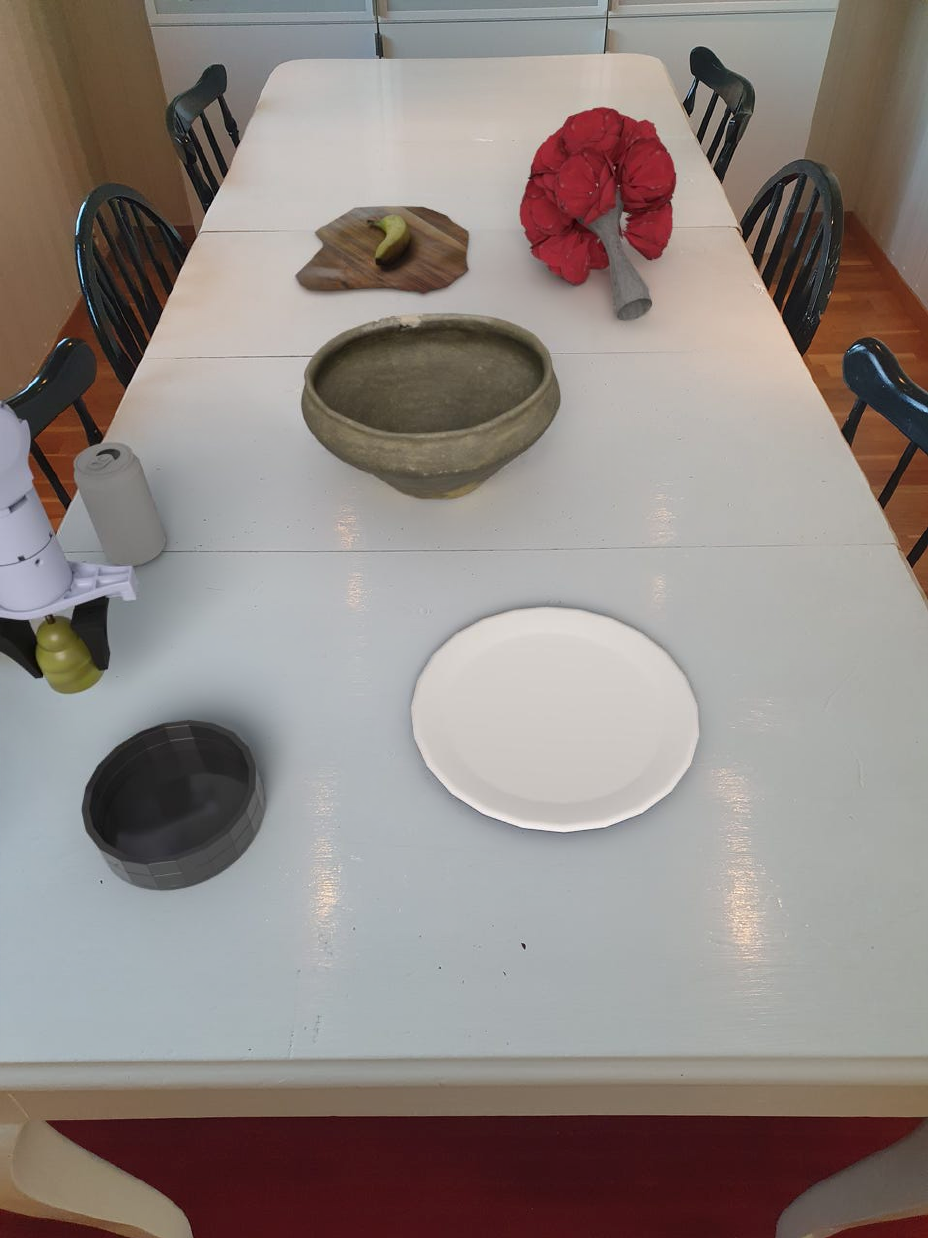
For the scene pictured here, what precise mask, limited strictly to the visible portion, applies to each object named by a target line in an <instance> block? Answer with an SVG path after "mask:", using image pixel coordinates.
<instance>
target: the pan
mask: <svg viewBox="0 0 928 1238" xmlns="http://www.w3.org/2000/svg"><path fill="white" fill-rule="evenodd" d="M264 792H265V791H264V787H263V784H262V781H261V777H260V774H259V770H258V767H257V764H256V763H255V759H254V757H253V754H252V751H251V749H250V747H249V746H248V744H246V742H244V740H242V739H241V737H240V736H238V734H237V733H236V732H235V731H232V730H230V729H228V728H225V727H224V726H221V725H219V724H218V723H215V722H211V721H210V722H208V721H201V720H194V719H185V720H176V721H169V722H163V723H159V724H157V725H155V726H151V727H149V728H145V729H143V730H141V731H139V732H137V733H135V734H133V735H132V736H130V737H129V738H127V739H126V740H124V741H122V742H121V743H119V744H117V746H115V747H114V748H113V749H112V750H111V751H110V752H109V753H108V754H107V755H106V756H104V758H103V759H102V760H101V761H100V762H99V763H98V764H97V765H96V767H95V769H94V771H93V772H92V774H91V776H90V778H89V780H88V782H87V783H86V785H85V788H84V793H83V798H82V803H81V809H80V810H81V811H80V812H81V815H82V816H81V817H82V820H83V825H84V830H85V832H86V834H87V836H88V838H89V839H90V841H91V843H92V845H93V846H94V848H95V850H96V851H97V853H98V855H99V856H100V857H101V858H102V860H103V861H104V863H105V864H106V866H107V867H108V869H109V870H110V871H111V872H112V873H113V874H114V875H115V876H117V877H118V878H119V879H121V880H122V881H124V882H126V883H127V884H129V885H132V886H135V887H137V888H139V889H144V890H145V889H146V890H150V891H174V890H180V889H185V888H190V887H193V886H196V885H199V884H201V883H204V882H206V881H207V882H208V881H209V880H210V879H213V878H215V877H216V876H218V875H220V874H221V873H223V872H224V871H226V870H227V869H229V868H230V867H231V866H233V864H234V863H236V862H237V861H238V860H239V859H240V858H241V857H242V856H243V855H244V854H245V853H246V851H247V850H248V849H249V848H250V846H251V845H252V843H253V842H254V840H255V839H256V836H257V835H258V832H259V830H260V828H261V826H262V822H263V819H264V815H265V807H266V806H265V803H266V802H265V793H264Z"/></svg>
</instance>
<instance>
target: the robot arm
mask: <svg viewBox="0 0 928 1238" xmlns="http://www.w3.org/2000/svg"><path fill="white" fill-rule="evenodd" d="M30 450H31V430H30V426H29V423H28V420H27V419H23V420H22V418H20V417H18V416H17V414H16V413H15V411H14V410H13V409H12V408H11V407H10V406H9V405H8V404H7V403H4V402H3V401H2V400H0V653H2V654H3V655H5V656H7V657H8V658H10V659H11V660H12V661H14V662H15V663H16V664H17V665H19V666H20V667H21V668H22V669H24V670H25V671H26V672H27V673H28V674H29V675H31V676H32V678H34V679H36V680H38V679H43V678H44V674H43V672H42V670H41V669H40V667H39V665H38V662H37V659H36V646H37V643H38V642H37V638H36V633H35V631H34V629H33V627H32V624H31V622H30V620H36V619H39V618H45V617H44V616H47V615H50V614H56V613H58V612H61V611H64V610H67V609H69V608H70V609H71V608H72V607H74V608H73V609H72V615H71V618H70V619H71V623H70V627H71V629H72V630H73V631H74V632H75V633H76V634H77V635H78V636H79V637H80V638H81V639H82V641H83V642H84V643H85V645H86V647H87V648H88V650H89V652H90V655H91V657H92V660H93V662H94V664H95V666H96V667H97V669H98V670H99V671H102V670H105V671H107V670H108V669H109V667H110V666H109V665H110V661H111V649H110V644H109V637H108V611H109V603H110V598H118V597H121V598H122V601H124V602H131V601H137V600H138V594H139V589H140V588H139V587H140V581H139V578H138V576H137V573H136V570H135V568H134V567H133V566H132V565H131V566H122V565H106V564H97V563H90V562H81V561H75V560H74V561H73V560H67V557H66V555H65V553H64V552H63V549H62V547H61V544H60V542H59V540H58V537H57V535H56V533H55V531H54V528H53V526H52V524H51V521H50V519H49V517H48V514H47V513H46V510H45V508H44V506H43V505H44V504H43V503H42V501H41V499H40V496H39V494H38V492H37V489H36V487H35V485H34V482H33V480H34V479H35V478H34V474H33V472H32V470H31V468H30V463H29V455H30Z"/></svg>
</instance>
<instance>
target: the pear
mask: <svg viewBox="0 0 928 1238" xmlns="http://www.w3.org/2000/svg"><path fill="white" fill-rule="evenodd" d="M53 614H54V613H52V614H50V615H47V616H44V617H43V618H44V620H42V622H41V623H40V624H39V625H38V627H37V630H36V633H35V635H36V638H37V642H38V643H37V646H36V659H37V662H38V665H39V667H40V669H41V670H42V672H43V674H44V675H43V677H44V678H45V680H46V682H47V683H48V685H49V687H50V688H51V689H52V691H54V692H56V693H59V694H63V695H73V694H78V693H82V692H85V691H86V690H89V689H90V688H92V687H94V686H95V685H96V684H97V683H98V682H99V681H100V680H101V679H102V678H103V675H104V674H105V671H106V670H102V671H99V670H98V669H97V667H96V666H95V664H94V662H93V660H92V657H91V655H90V652H89V650H88V648H87V647H86V645H85V643H84V642H83V641H82V639H81V638H80V637H79V636H78V635H77V634H76V633H75V632H74V631H73V630H72V629H71V627H70V623H71V619H72V618H69V617H67V616H64V615H53Z"/></svg>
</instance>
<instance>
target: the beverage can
mask: <svg viewBox="0 0 928 1238" xmlns="http://www.w3.org/2000/svg"><path fill="white" fill-rule="evenodd" d="M72 466H73V468H74V469H73V470H74V472H73V479H74V482H75V484H76V487H77V489H78V492H79V494H80V497H81V500H82V501H83V504H84V506H85V507H84V508H85V509H86V511H87V514H88V517H89V519H90V522H91V524H92V526H93V528H94V531H95V533H96V536H97V539H98V541H99V543H100V546H101V549H102V551H103V553H104V555H105V557H106V559H107V560H108V561H109V562H110V563H113V564H114V565H116V566H131V565H132V566H133V568H134V567H140V566H143V565H146V564H147V563H150V562H151V561H153V560H155V558H157V557H158V556H159V555H160V554H161V553H162V552H163V550H164V549H165V547H166V544H167V537H166V534H165V530H164V527H163V525H162V522H161V519H160V516H159V513H158V510H157V507H156V504H155V501H154V498H153V495H152V492H151V489H150V486H149V484H148V480H147V477H146V474H145V472H144V469H143V466H142V462H141V459H140V458H139V457H138V456H137V455H136V454H135V453H134V451H133V449H132V448H131V447H130V446H129V445H127V444H125V443H122V442H117V441H109V442H108V441H107V442H102V443H101V442H100V443H96V444H94V445H91V446H89V447H87V448H85V449H83V450H82V451H81V452H79V453H78V454H77V455H76V456H75V458H74V460H73V465H72Z"/></svg>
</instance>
